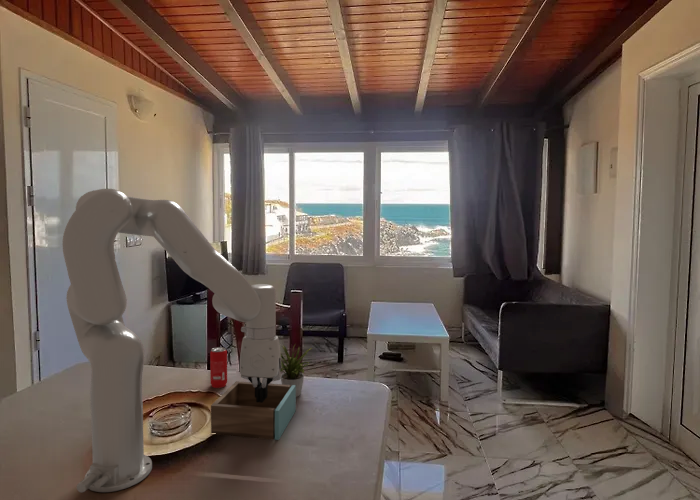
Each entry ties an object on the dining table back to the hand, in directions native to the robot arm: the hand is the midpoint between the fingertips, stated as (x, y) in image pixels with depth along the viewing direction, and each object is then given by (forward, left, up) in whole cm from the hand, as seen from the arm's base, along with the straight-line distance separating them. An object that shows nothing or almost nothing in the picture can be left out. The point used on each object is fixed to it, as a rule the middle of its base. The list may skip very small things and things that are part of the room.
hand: (261, 400), depth 114 cm
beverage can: (+23, +22, -7) cm, 33 cm away
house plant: (+19, -2, -7) cm, 20 cm away
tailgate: (0, -7, -6) cm, 9 cm away
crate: (0, +2, -7) cm, 7 cm away
